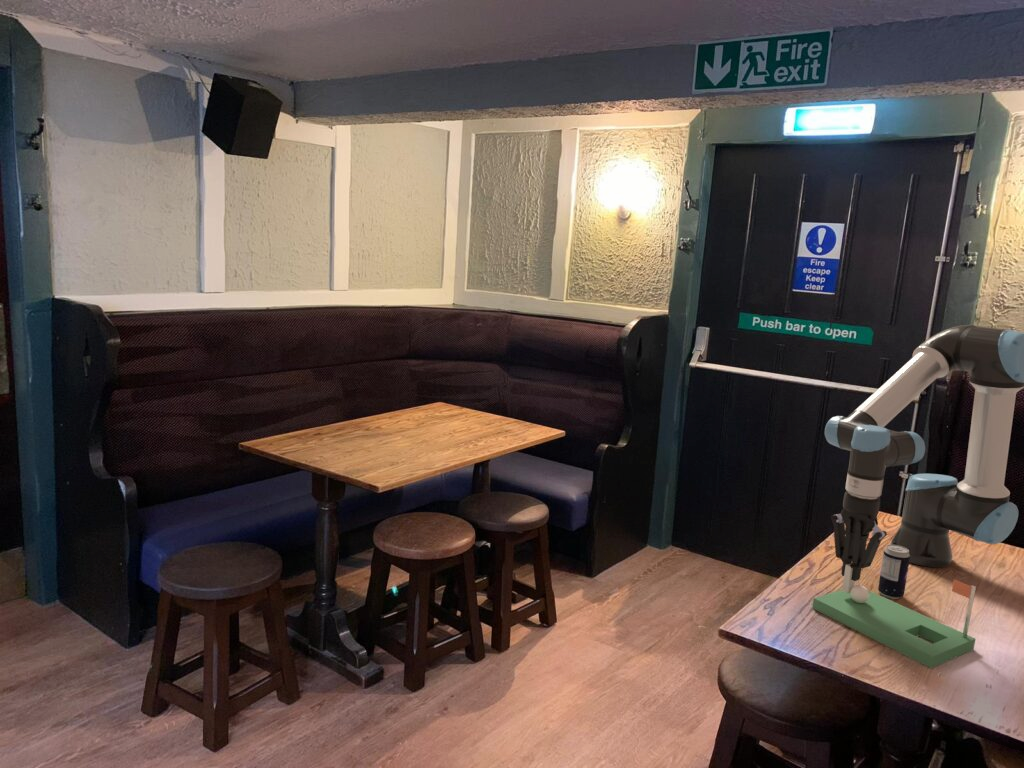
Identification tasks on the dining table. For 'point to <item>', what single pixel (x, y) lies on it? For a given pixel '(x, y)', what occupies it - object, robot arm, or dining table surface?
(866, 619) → the putting mat
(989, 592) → the dining table surface
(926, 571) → the dining table surface
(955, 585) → the flag pin
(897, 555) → the beverage can
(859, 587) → the ball
